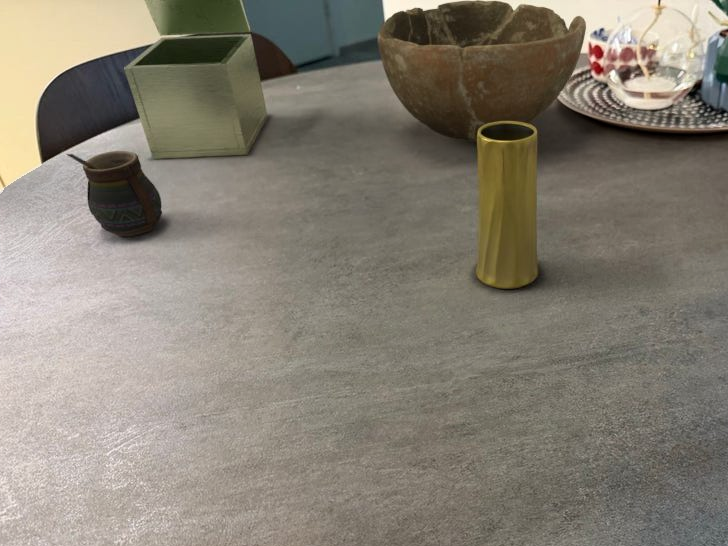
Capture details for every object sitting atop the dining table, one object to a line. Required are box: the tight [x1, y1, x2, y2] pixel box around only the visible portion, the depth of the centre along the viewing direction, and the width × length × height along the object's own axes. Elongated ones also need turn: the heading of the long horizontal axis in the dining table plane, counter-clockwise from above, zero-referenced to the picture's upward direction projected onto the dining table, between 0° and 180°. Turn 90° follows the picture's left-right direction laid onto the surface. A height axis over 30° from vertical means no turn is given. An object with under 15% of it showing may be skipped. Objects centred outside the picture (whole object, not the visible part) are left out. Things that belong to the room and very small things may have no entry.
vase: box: [475, 121, 539, 290], centre depth 65 cm, size 6×6×14 cm
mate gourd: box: [66, 150, 163, 237], centre depth 76 cm, size 7×8×10 cm
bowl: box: [376, 0, 587, 142], centre depth 96 cm, size 28×27×15 cm
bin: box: [123, 33, 269, 160], centre depth 98 cm, size 16×13×12 cm
